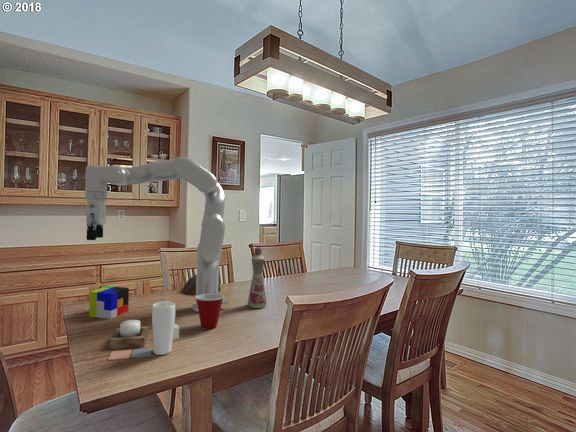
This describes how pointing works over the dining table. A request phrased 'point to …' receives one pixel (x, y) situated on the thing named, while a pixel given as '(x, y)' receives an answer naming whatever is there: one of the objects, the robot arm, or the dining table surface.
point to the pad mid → (141, 353)
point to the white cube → (176, 332)
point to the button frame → (129, 339)
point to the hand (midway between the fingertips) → (95, 238)
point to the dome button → (130, 328)
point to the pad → (120, 355)
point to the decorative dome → (193, 286)
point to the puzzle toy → (108, 302)
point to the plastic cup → (209, 309)
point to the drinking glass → (163, 326)
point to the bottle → (257, 282)
